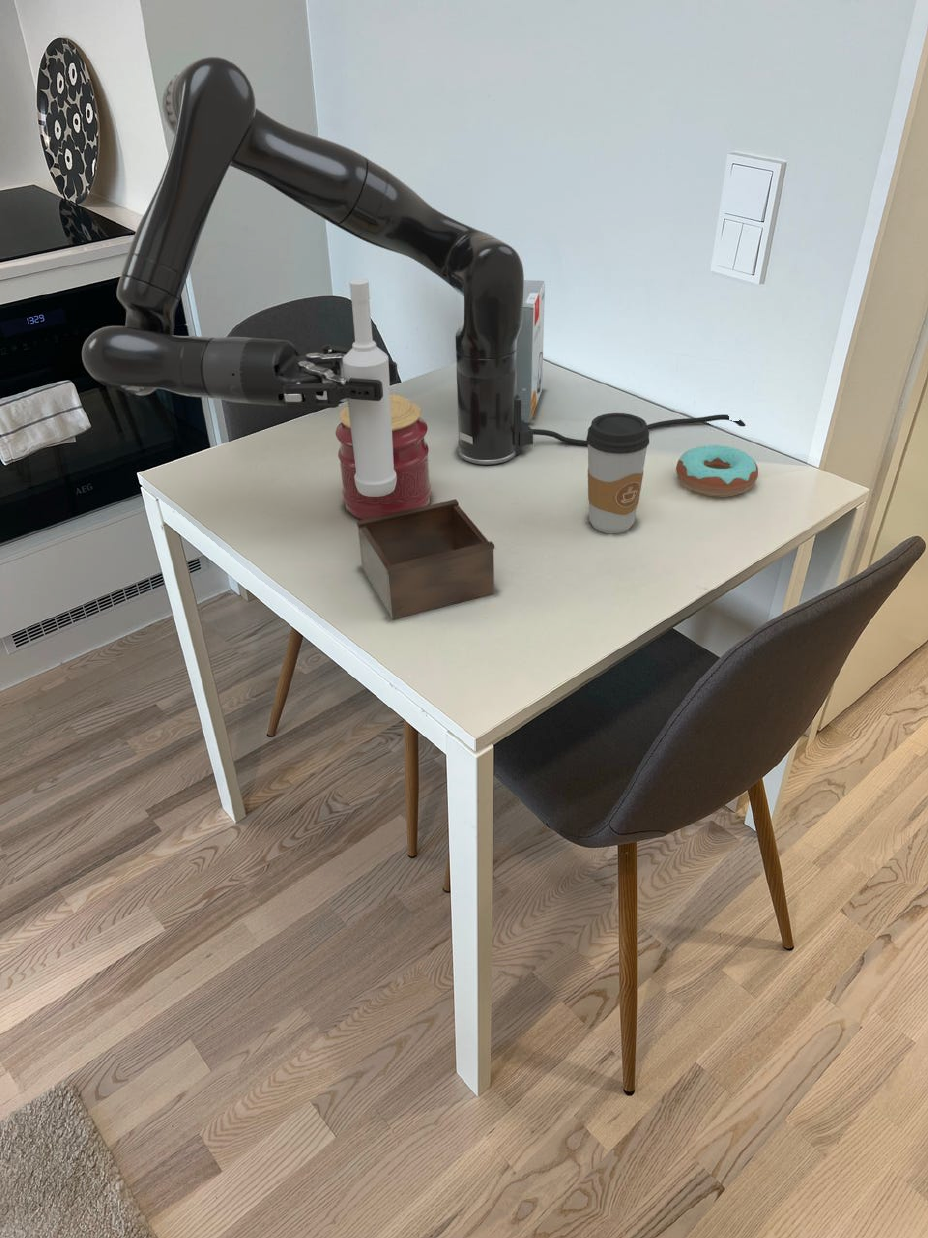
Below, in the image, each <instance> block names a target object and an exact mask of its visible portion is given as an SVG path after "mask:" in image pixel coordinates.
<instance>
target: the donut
mask: <svg viewBox="0 0 928 1238" xmlns="http://www.w3.org/2000/svg"><path fill="white" fill-rule="evenodd" d="M675 471H676V475H677V479H678V481H679V482H680V483H681V485H683V486H684V487H685V488H687V489H688V490H690V491H693V492H695V493H697V494H700V495H704V496H708V497H716V498H717V497H719V498H725V497H732V496H737V495H740V494H743V493H745V492H747V491H749V490H750V489H751V488H752V487H753V486H754V484H755V483H756V481H757V480H758V477H759V467H758V464H757V462H756V461H755V459H754V458H753V457H752V456H751V455H750V454H748V453H747V452H746V451H743V450H741V449H738V448H735V447H731V446H727V445H719V444H710V445H709V444H707V445H701V446H700V445H699V446H696V447H693V448H690V449H688V450H686V451H685V452H684V453H683V454H682V455H681V456H680V457H679V458H678V460H677V463H676V467H675Z"/></svg>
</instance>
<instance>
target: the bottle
mask: <svg viewBox="0 0 928 1238" xmlns="http://www.w3.org/2000/svg"><path fill="white" fill-rule="evenodd" d="M369 283H370V282H369V280H368V279H365V278H355V279H351V280H350V281H349V283H348V284H349V293H350V300H351V308H352V321H353V332H354V334H353V335H354V342H352V346H351V347H352V349H351V350H350V351H349V352H348V353H347V354H346V355H345V356H344V358H343V359H342V360H343V368H344V376H345V378H347V379H348V382H349V379H350V378H356V379H370V380H379V381H381V382H382V386H383V397H382V399H381V400H380V401H369V400H357V399H350V400H349V401H347V406H348V409H349V418H350V426H351V434H352V442H353V451H354V459H355V467H356V473H355V476H354V479H355V484H356V487H357V490H358V492H359V493H361V494H362V495H365V496H368V497H380V496H385V495H387V494H390V493H391V492H393V491H394V489H395V487H396V482H397V475H396V472H395V470H394V463H393V443H392V422H391V402H390V394H391V385H390V384H391V381H389V361H390V360H389V356H388V354H387V353H386V352H384V351H383V350H382V349H381V348H379V347H378V346H377V342H376V341H375V340H374V339H373V327H372V316H371V301H370V300H371V297H370V296H371V295H370V285H369Z"/></svg>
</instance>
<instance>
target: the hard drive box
mask: <svg viewBox="0 0 928 1238" xmlns="http://www.w3.org/2000/svg"><path fill="white" fill-rule="evenodd" d="M545 301H546V281H545V280H533V279H532V280H531V279H524V292H523V312H522V326H521V330H520V333H519V335H518V337H517V348H516V349H517V350H516V394H517V395H518V396H519V397H520V398H521V420H522V421H523V422H525V423H526V424H531V422H532V419H533V417H534V414H535V410H536V408H537V405H538V403H539V400H540V397H541V394H542V391H543V373H544V372H543V371H544V340H545V339H544V338H545V335H544V334H545V332H544V331H545V304H546V303H545Z"/></svg>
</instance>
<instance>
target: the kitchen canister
mask: <svg viewBox="0 0 928 1238" xmlns="http://www.w3.org/2000/svg"><path fill="white" fill-rule="evenodd" d="M390 402H391V422H392V443H393V463H394V470H395V472H396V475H397V482H396V487H395V489H394V491H393V492H391V493H390V494H387V495H385V496H380V497H368V496H365V495H362V494H361V493H359V492H358V490H357V487H356V484H355V479H354V476H355V473H356V467H355V459H354V451H353V442H352V434H351V426H350V418H349V409H348V405H347V406H345V407H344V408H343V409H342V410H341V411H340V413H339V420H340V423H339V424H338V425H337V427H336V429H335V437H336V439H337V441H339V442H340V447H339V449H338V452H337V453H338V454H337V457H338V460H339V463H340V472H341V473H340V474H341V480H342V499H343V502H344V504H345V507H346V511H348V513H350V514H351V515H352V516H353V517H355V518H357V519H359V520H364V519H369V518H373V517H378V516H382V515H387V514H391V513H396V512H400V511H405V510H409V509H414V508H418V507H423V506H427V505H430V500H431V495H432V490H431V489H432V485H431V482H430V467H429V449H430V448H429V445H428V443H427V441H426V440H425V436H426V434H427V433H428V427H429V426H428V424H427V422H426V420H425V419H424V418H423V417H421V413H422V412H421V408H420V406H418V404H416V403H415V402H413V401H411V400H408V399H407V398H405V397H404V396H402V395H398V394H393V393H390Z"/></svg>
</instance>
